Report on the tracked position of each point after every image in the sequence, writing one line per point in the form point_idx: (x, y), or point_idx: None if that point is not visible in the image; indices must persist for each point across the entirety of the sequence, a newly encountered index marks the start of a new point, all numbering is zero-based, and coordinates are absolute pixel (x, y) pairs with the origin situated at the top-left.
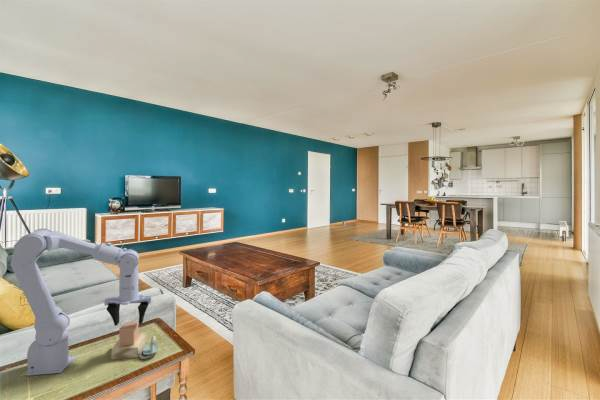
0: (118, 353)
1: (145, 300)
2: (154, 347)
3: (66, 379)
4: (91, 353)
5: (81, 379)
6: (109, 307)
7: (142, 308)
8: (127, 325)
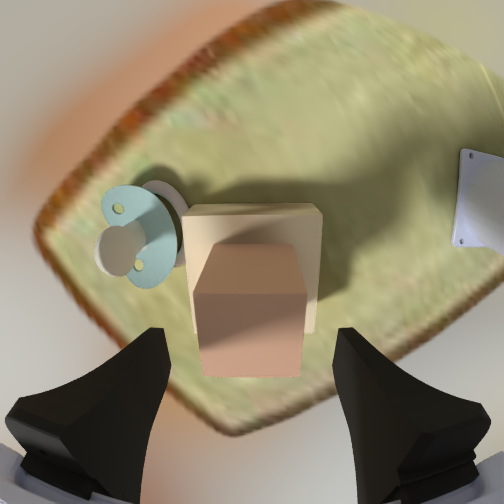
0: (284, 208)
1: (15, 487)
2: (137, 256)
3: (428, 100)
4: (406, 263)
5: (377, 82)
6: (464, 445)
7: (35, 406)
8: (262, 339)
